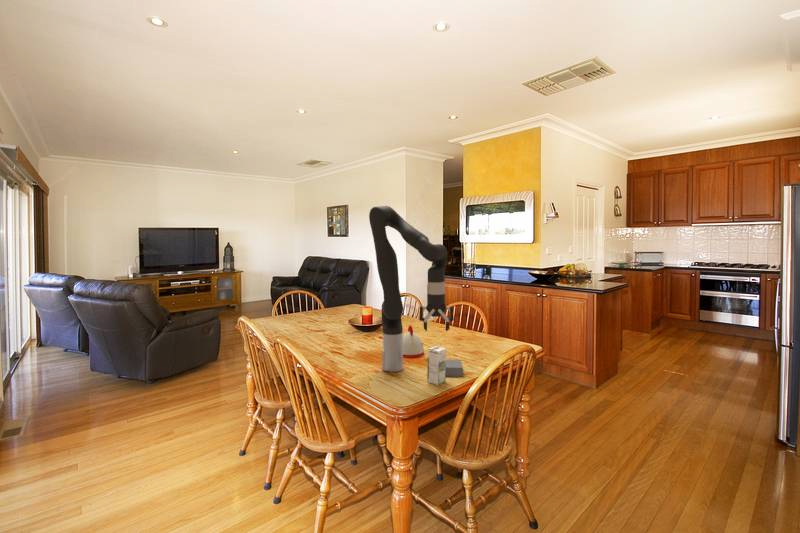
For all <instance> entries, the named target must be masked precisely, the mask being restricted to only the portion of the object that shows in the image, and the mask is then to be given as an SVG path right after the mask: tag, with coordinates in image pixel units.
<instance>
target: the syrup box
mask: <svg viewBox="0 0 800 533" xmlns="http://www.w3.org/2000/svg"><path fill="white" fill-rule="evenodd" d="M446 359H447V348H444V347H441V346H437V345H435V346H433V347H430V348H428V349H427V364H426V365H427V368H426V369H427V370H426V371H427V372H426V374H427V375H426V377H427V378H426V379H427V381H426V382H427V383H430V384H433V385H437V386H439V385H440V384H442V383H444V382H446V379H447V378H446V377H447V376H446Z"/></svg>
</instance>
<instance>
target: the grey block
mask: <svg viewBox="0 0 800 533" xmlns="http://www.w3.org/2000/svg"><path fill="white" fill-rule="evenodd" d="M463 369H464V368H463V364H462V360H461V359H451V358H450V359H447V358H446V377H456V378H457V377H461V378H462V377H464V376H463V375H464V372H463Z"/></svg>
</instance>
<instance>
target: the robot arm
mask: <svg viewBox="0 0 800 533" xmlns="http://www.w3.org/2000/svg"><path fill="white" fill-rule="evenodd" d="M368 217H369V224H370V228H371V233H372V238H373V244H374V250H375V258H376V267H377V268H376V269H377V271H378V272H377V273H378V276H379V281H380V284H381V287H382V292H383V301H382V304H381V326H382V353H381V354H382V362H381V363H382V371H385V372H390V373H392V372H400V371H402V370H403V369H404V357H403V335H404V334H403V332H404V331H403V330H404V329H403V322H402V315H403V313H404V304H403V300H402V297H401V296H402V295H401V291H400V285H399V284H400V283H399V282H400V278H399V267H398V266H399V265H398V257H397V254H396V251H395V249H394V247H393V246H392V244H391V242H390V240H389V239H388V235H387V231H386V227H389V228H392V229H394V230H395V231H397V232H398V233H399V234H400V236H401V237H402V239H403V240H404V242H406V244H408V245H409V246H410V247H412V248H413V249H414V250H416V251H417V252H418V253H419V254H420V255H421V256H422V257H423V259H425V260H427V261H428V262H431V267H429V268H428V269H427V285H426V300H427V302H426V306H425V305H424V306H423V305H419V321H420V322H423V330H424V331H426V332H427V331H428V321H429V319H430V317H433V318H435V317H438V318H441V317H442V318H443V319H444V320H445V332H448V331H449V330H450V322H454V317H455V316H454V307H453V306H452V305H450V306H447V305H446V282H445V281H446V279H445V276H446V275H445V270H446V268H447V263H448V262H447V261H448V250H447V247H446V246H445V245H443V244H442V243H441V244H440V243H439V244H433V243H432V242H430V239H429V238H428V236H426V234H424V233H423V232H421V231H419V230H418V229H417V228H415V227H413V226H412V225H411V224H410V223H409V222H408V221H406V220H405V219H404V217H402V216H401V215H400V214H399V213H398V212H397V211H395V209H394V208H392V207H391V206H389V205H379V206H373V207H372V208H371V209H370V210H369V215H368ZM447 310H448V311H447ZM425 311H427V312H428V313H427V314H426V315H425V317H423V313H424V312H425ZM446 311H447V312H449V313H450V314H449V317H448V316H447V314H446V313H445V312H446Z"/></svg>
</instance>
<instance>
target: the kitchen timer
mask: <svg viewBox="0 0 800 533" xmlns="http://www.w3.org/2000/svg"><path fill="white" fill-rule="evenodd" d="M424 355H425V350H424V342H423V340H421V338H420V337H419V335H418V334H417V333H415V332H414V330H413V326H412V325H409V326H408V328H407V332H406V333H404V334H403V359H404V358H405V359H416V358H421V357H422V356H424Z"/></svg>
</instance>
